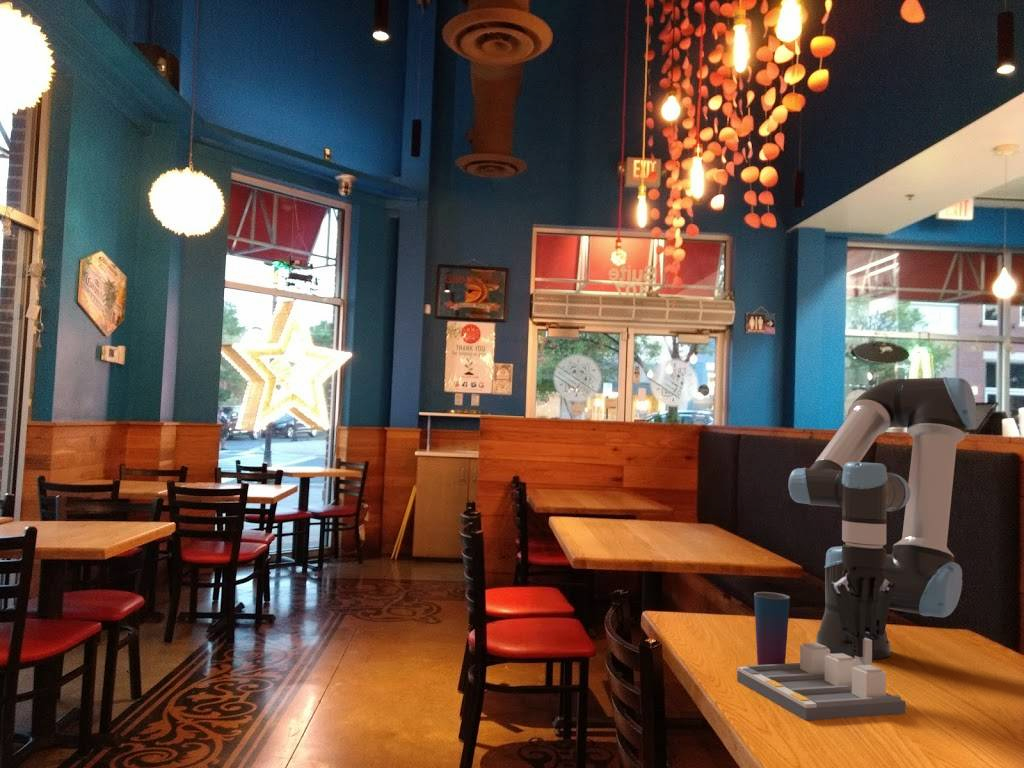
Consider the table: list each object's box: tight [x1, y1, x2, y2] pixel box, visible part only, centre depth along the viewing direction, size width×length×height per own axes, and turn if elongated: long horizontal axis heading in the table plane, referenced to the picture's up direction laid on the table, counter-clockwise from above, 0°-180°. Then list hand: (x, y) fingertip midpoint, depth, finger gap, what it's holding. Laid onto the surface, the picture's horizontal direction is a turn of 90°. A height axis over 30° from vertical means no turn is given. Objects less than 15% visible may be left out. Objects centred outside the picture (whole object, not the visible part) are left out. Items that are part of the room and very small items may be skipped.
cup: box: [753, 591, 791, 665], centre depth 147 cm, size 7×7×15 cm
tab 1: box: [799, 642, 831, 673], centre depth 142 cm, size 4×4×5 cm
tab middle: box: [825, 653, 856, 686], centre depth 135 cm, size 4×4×5 cm
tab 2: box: [852, 664, 887, 698], centre depth 128 cm, size 4×4×5 cm
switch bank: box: [736, 662, 907, 722], centre depth 133 cm, size 20×20×3 cm
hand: (863, 674), depth 136 cm, fingers closed
